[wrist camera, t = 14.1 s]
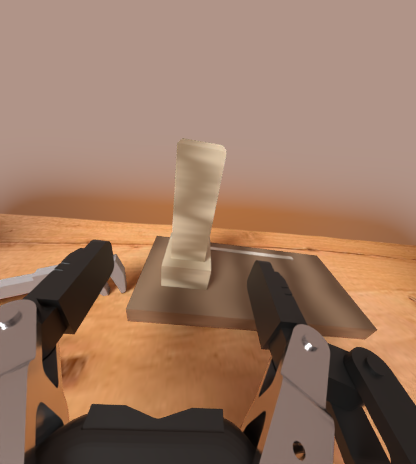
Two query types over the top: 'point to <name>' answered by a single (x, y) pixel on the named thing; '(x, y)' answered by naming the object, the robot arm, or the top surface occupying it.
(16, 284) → the caliper
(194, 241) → the beige tall block
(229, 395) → the top surface
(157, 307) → the board
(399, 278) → the top surface
